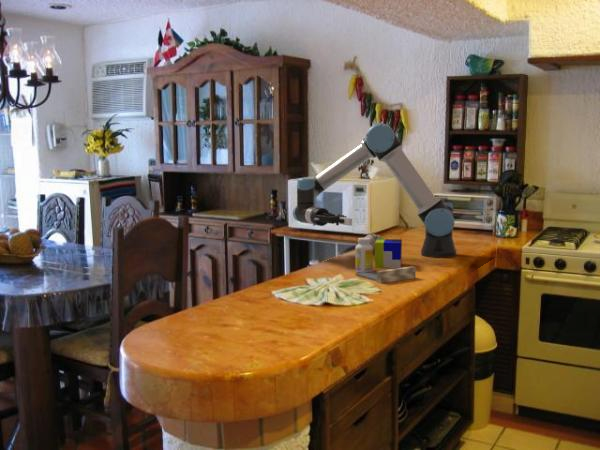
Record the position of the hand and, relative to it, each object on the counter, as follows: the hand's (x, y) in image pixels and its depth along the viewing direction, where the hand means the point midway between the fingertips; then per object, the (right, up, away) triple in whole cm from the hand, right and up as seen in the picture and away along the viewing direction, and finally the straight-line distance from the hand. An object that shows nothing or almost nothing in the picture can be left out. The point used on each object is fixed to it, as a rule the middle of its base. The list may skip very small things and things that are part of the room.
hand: (350, 222), depth 241 cm
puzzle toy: (+16, -18, +8) cm, 25 cm away
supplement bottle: (+5, -19, -4) cm, 20 cm away
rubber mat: (+10, -20, -14) cm, 26 cm away
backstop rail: (+15, -21, -20) cm, 33 cm away
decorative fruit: (+13, -14, +36) cm, 41 cm away
